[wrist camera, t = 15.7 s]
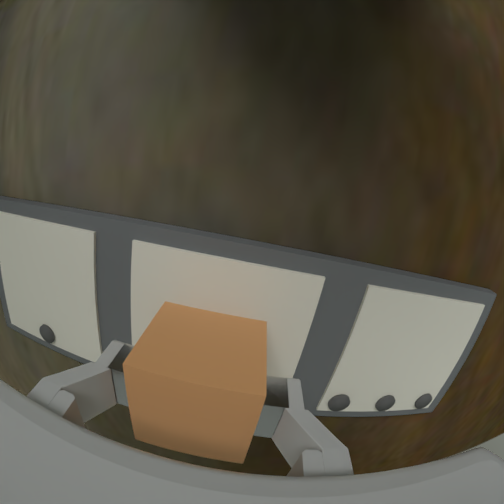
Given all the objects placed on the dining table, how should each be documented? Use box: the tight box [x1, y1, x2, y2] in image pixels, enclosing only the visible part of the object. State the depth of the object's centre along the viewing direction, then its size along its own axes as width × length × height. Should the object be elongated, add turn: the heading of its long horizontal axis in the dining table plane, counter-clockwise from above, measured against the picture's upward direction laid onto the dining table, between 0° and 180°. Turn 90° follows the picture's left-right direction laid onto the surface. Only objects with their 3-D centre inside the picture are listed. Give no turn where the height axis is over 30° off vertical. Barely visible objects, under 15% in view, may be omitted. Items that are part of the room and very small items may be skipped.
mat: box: [0, 196, 497, 417], centre depth 12 cm, size 30×9×1 cm, turn 79°
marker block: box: [123, 301, 267, 464], centre depth 9 cm, size 4×4×4 cm
